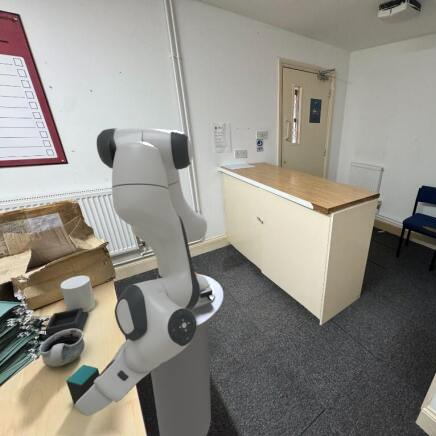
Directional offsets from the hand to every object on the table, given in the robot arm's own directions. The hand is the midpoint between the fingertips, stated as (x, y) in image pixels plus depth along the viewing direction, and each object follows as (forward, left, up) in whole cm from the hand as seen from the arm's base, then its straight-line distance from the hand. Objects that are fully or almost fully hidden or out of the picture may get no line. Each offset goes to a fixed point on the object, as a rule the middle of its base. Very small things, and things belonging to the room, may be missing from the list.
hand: (110, 373), depth 58 cm
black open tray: (+19, -36, -12) cm, 42 cm away
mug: (+15, -20, -12) cm, 28 cm away
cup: (+17, -46, -12) cm, 50 cm away
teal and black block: (+7, -5, -12) cm, 15 cm away
